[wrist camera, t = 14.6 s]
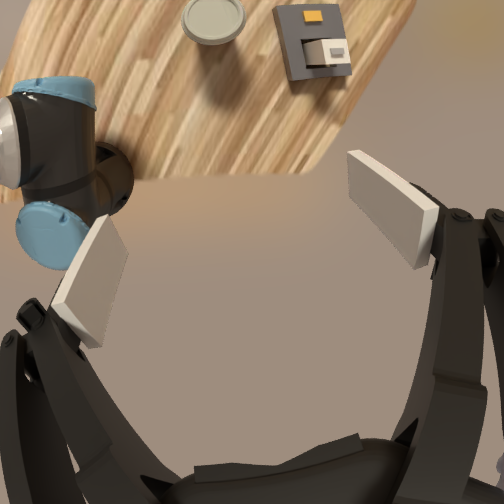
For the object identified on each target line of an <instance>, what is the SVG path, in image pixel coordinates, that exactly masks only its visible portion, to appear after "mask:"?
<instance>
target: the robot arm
mask: <svg viewBox="0 0 504 504" xmlns="http://www.w3.org/2000/svg"><path fill="white" fill-rule="evenodd" d="M96 110H97V108H96V106H95V86H94V83H93V82H92V81H91V80H90V79H88V78H85V77H76V76H55V77H45V78H37V79H28V80H23V81H20V82H18V83H16V84H15V85H14V88H13V90H12V95H10V96H6V97H3V98H1V99H0V184H2V185H4V186H6V187H8V188H10V189H12V190H13V189H16V188H19V187H21V190H22V195H23V200H24V207H23V208H22V209H21V210H20V212H19V215H18V218H17V220H16V235H17V238H18V240H19V243H20V245H21V246H22V248H23V249H24V251H25V252H26V253H27V254H28V255H29V256H30V257H31V258H32V259H33V260H35V261H37V262H38V263H39V264H40V265H42V266H44V267H47V268H50V269H53V270H67V272H66V274H65V276H64V277H63V278H62V280H61V282H60V284H59V286H58V288H57V290H56V292H55V294H54V296H53V298H52V301H51V303H50V305H49V307H48V309H47V311H46V310H45V309H44V307H43V306H42V305H41V304H40V302H39V301H38V300H37V299H36V298H31V299H29V300H28V301H26V302H25V303H24V304H23V305H22V306H21V308H20V309H19V311H18V313H17V318H16V319H17V320H18V321H19V323H20V324H21V325H22V326H23V327H24V328H25V329H26V330H27V332H28V333H27V334H25V335H23V336H21V335H20V334H19V333H18V331H17V330H11V331H10V332H8V333H7V334H6V335H5V336H4V338H3V341H2V343H1V347H0V454H1V462H2V468H3V474H4V480H5V485H6V489H7V494H8V498H9V502H10V504H86V502H85V499H84V497H85V498H86V500H87V501H88V503H89V504H504V453H503V455H502V456H501V457H500V458H499V460H498V462H497V466H496V468H497V471H498V472H499V473H501V475H500V479H499V481H498V483H497V485H496V487H495V486H492V485H490V484H487V483H484V482H482V481H479V480H477V479H474V478H472V477H469V475H470V472H471V469H472V466H473V462H474V459H475V455H476V452H477V448H478V444H479V440H480V436H481V431H482V426H483V421H484V416H485V411H486V405H487V393H488V392H487V388H486V387H485V386H483V385H481V369H482V359H483V344H484V305H485V309H486V313H487V317H488V321H489V326H490V330H491V335H492V339H493V345H494V350H495V356H496V362H497V369H498V377H499V387H500V397H501V415H502V430H503V436H504V212H503V211H500V210H499V209H493V208H492V209H488V210H487V211H486V214H485V218H484V219H474V218H473V216H472V215H471V214H470V213H468V212H466V211H465V210H462V209H458V208H452V209H448V208H447V207H446V206H445V205H443V204H442V203H441V202H440V201H438V200H437V199H436V198H434V197H432V195H430V194H429V193H427V192H426V191H425V190H424V189H423V188H421V187H420V186H418V185H415V184H413V183H408V182H407V181H405V180H404V179H402V178H401V177H400V176H398V175H396V174H395V173H394V172H392V171H391V170H390V169H388V168H387V167H385V166H384V165H382V164H381V163H379V162H378V161H376V160H374V159H373V158H372V157H370V156H368V155H367V154H365V153H364V152H362V151H361V150H354V151H347V163H348V179H349V197H350V198H351V199H352V200H353V201H354V202H355V203H356V204H357V206H358V207H359V208H360V209H361V210H362V211H363V212H364V213H365V214H366V215H367V216H368V217H369V218H370V219H371V220H372V222H373V223H374V224H375V225H376V226H377V227H378V228H379V229H380V230H381V232H382V233H383V234H384V235H385V236H386V237H387V238H388V240H389V241H390V242H391V243H392V244H393V245H394V247H395V248H396V249H397V250H398V251H399V253H400V254H401V255H402V256H403V257H404V259H405V260H406V261H407V262H408V263H409V265H410V266H411V267H412V268H413V270H415V269H418V268H421V267H423V266H426V265H428V262H429V257H430V253H431V254H432V255H433V256H434V257H435V258H436V260H435V264H434V268H433V271H432V275H431V278H430V279H431V280H433V281H432V289H431V297H430V304H429V311H428V317H427V323H426V328H425V333H424V338H423V343H422V348H421V352H420V357H419V361H418V365H417V369H416V373H415V376H414V380H413V384H412V387H411V391H410V394H409V397H408V400H407V403H406V406H405V409H404V412H403V414H402V417H401V418H400V420H399V422H398V424H397V426H396V429H395V431H394V433H393V436H392V438H391V440H390V441H389V440H385V439H377V438H370V439H369V438H366V439H360V437H359V434H358V433H356V434H353V435H351V436H347V437H344V438H341V439H338V440H335V441H332V442H329V443H325V444H322V445H318V446H316V447H314V448H313V449H311V450H309V451H307V452H305V453H303V454H301V455H299V456H297V457H295V458H293V459H291V460H289V461H286V462H284V463H282V464H280V465H276V466H269V465H252V464H240V463H226V464H215V465H203V466H194V474H191V475H189V476H187V477H184V478H183V479H181V478H180V477H179V476H178V475H176V474H175V473H174V472H172V471H171V470H169V469H168V468H167V467H165V466H164V465H163V464H162V463H161V462H160V461H159V460H158V459H157V457H156V456H155V455H154V454H153V453H152V451H151V450H150V449H149V448H148V447H147V445H146V444H145V443H144V442H143V441H142V439H141V438H140V437H139V436H138V434H137V433H136V432H135V431H134V429H133V428H132V427H131V425H130V424H129V422H128V421H127V420H126V418H125V417H124V416H123V414H122V413H121V411H120V410H119V409H118V407H117V406H116V404H115V403H114V401H113V400H112V398H111V397H110V395H109V394H108V392H107V391H106V389H105V388H104V386H103V385H102V383H101V381H100V380H99V378H98V376H97V375H96V373H95V371H94V370H93V368H92V366H91V364H90V363H89V361H88V359H87V357H86V356H85V354H84V352H83V351H82V350H81V349H80V348H79V345H80V342H81V341H82V342H83V343H84V344H85V345H86V346H87V347H88V348H89V349H91V348H98V347H102V344H103V340H104V336H105V332H106V328H107V324H108V320H109V316H110V312H111V309H112V305H113V301H114V298H115V294H116V291H117V287H118V284H119V281H120V278H121V275H122V271H123V268H124V265H125V262H126V259H127V256H128V252H127V250H126V248H125V246H124V244H123V242H122V241H121V239H120V237H119V235H118V233H117V231H116V229H115V227H114V225H113V223H112V221H111V219H110V217H109V216H111V215H113V214H115V213H116V212H118V211H119V210H120V209H121V208H122V207H123V206H124V205H125V204H126V202H127V201H128V199H129V197H130V195H131V193H132V190H133V186H134V177H133V171H132V167H131V165H130V163H129V161H128V159H127V158H126V156H125V155H124V154H123V153H122V152H121V151H120V150H119V149H118V148H116V147H115V146H113V145H111V144H108V143H104V142H95V111H96ZM25 374H27V375H28V376H29V377H30V381H29V380H28V379H27V377H26V376H25ZM66 442H67V443H66ZM67 444H68V446H69V448H70V450H71V452H72V454H73V456H74V458H75V460H76V462H77V464H78V465H79V468H80V471H79V472H77V473H76V474H75V471H74V468H73V465H72V462H71V458H70V454H69V451H68V447H67ZM82 493H83V494H82ZM83 495H84V497H83Z"/></svg>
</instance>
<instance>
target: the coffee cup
mask: <svg viewBox="0 0 504 504" xmlns="http://www.w3.org/2000/svg"><path fill="white" fill-rule="evenodd" d="M245 23H246V11H245V8H244V6H243V5H242V3H241V2H240V1H239V0H191V1H190V2H189V3H188V4H187V5H186V7H185V8H184V10H183V13H182V16H181V25H182V28H183V30H184V32H185V34H186V35H187V36H188V37H189V38H190V39H192V40H193V41H195V42H197V43H200V44H204V45H220V44H224V43H227V42H229V41H231V40H233V39H234V38H235V37H237V36H238V35H239V34H240V33H241V31H242V30H243V28H244V26H245Z"/></svg>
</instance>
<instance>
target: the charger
mask: <svg viewBox="0 0 504 504" xmlns="http://www.w3.org/2000/svg"><path fill="white" fill-rule="evenodd" d="M302 49H303V54H304V59H305V64H306V65H321V64H341V63H350V57H349V51H348V46H347V40H346V39H321V40H317V41H313V42H309V43H305V44H302Z"/></svg>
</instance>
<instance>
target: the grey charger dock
mask: <svg viewBox="0 0 504 504" xmlns="http://www.w3.org/2000/svg"><path fill="white" fill-rule="evenodd" d="M272 11H273V15H274V19H275V23H276V27H277V31H278V35H279V40H280V44H281V49H282V53H283V58H284V63H285V68H286V73H287V78H288V80H291V81H294V80H302V79H311V78H320V77H332V76H347V75H352V71H351V64H350V63H341V64H330V67H322V68H311V69H306V64H305V59H304V54H303V49H302V44H301V40H315V39H346V36H345V31H344V26H343V21H342V17H341V13H340V8H339V4H297V5H281V6H276V7H274V8H273V9H272Z"/></svg>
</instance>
